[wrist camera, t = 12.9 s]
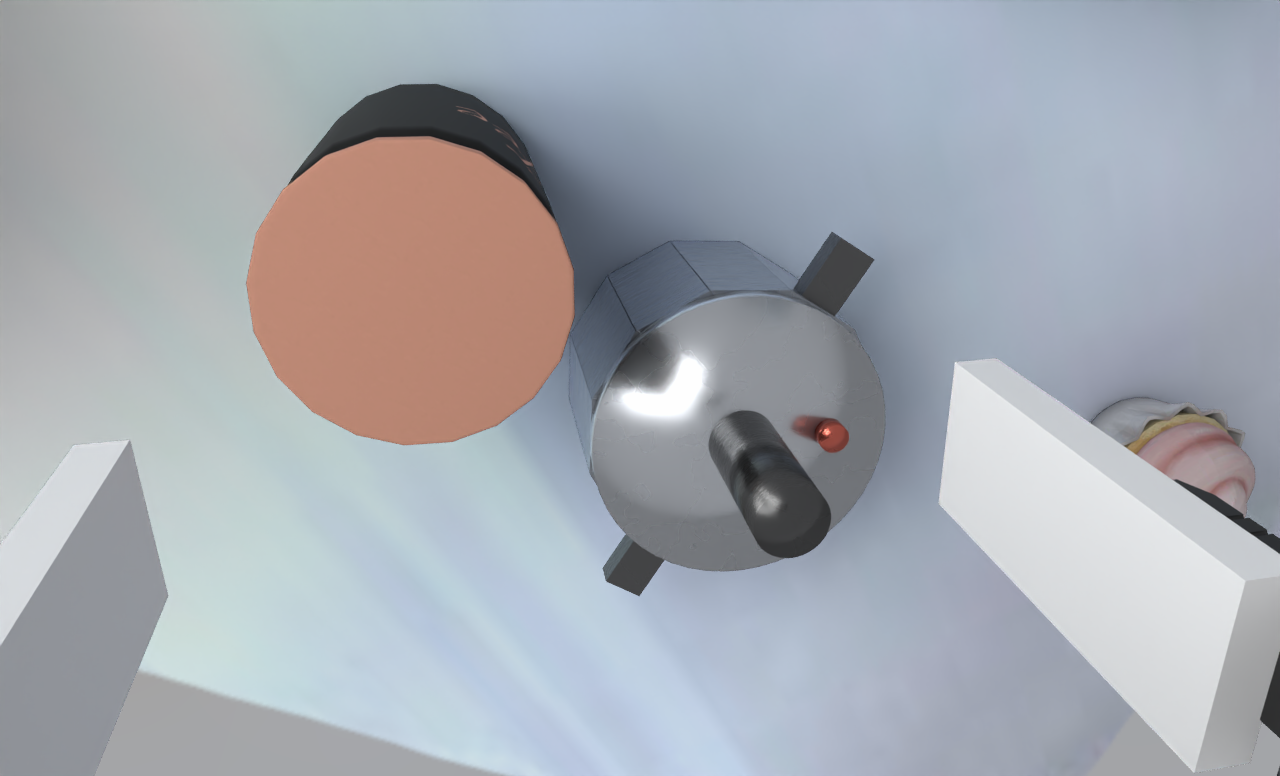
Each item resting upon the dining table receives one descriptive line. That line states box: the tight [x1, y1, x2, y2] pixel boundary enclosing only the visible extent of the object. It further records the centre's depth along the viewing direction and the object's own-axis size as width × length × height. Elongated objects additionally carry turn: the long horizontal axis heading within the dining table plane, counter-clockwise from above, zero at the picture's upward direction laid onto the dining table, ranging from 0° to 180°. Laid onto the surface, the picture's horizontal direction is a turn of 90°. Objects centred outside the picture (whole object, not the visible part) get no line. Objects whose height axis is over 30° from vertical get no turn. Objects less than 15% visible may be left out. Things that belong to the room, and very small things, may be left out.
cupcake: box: [1091, 398, 1255, 518], centre depth 58 cm, size 9×9×10 cm
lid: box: [590, 291, 885, 571], centre depth 44 cm, size 14×14×10 cm
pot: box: [569, 232, 874, 596], centre depth 51 cm, size 20×14×9 cm
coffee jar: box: [246, 84, 575, 445], centre depth 41 cm, size 11×11×18 cm
